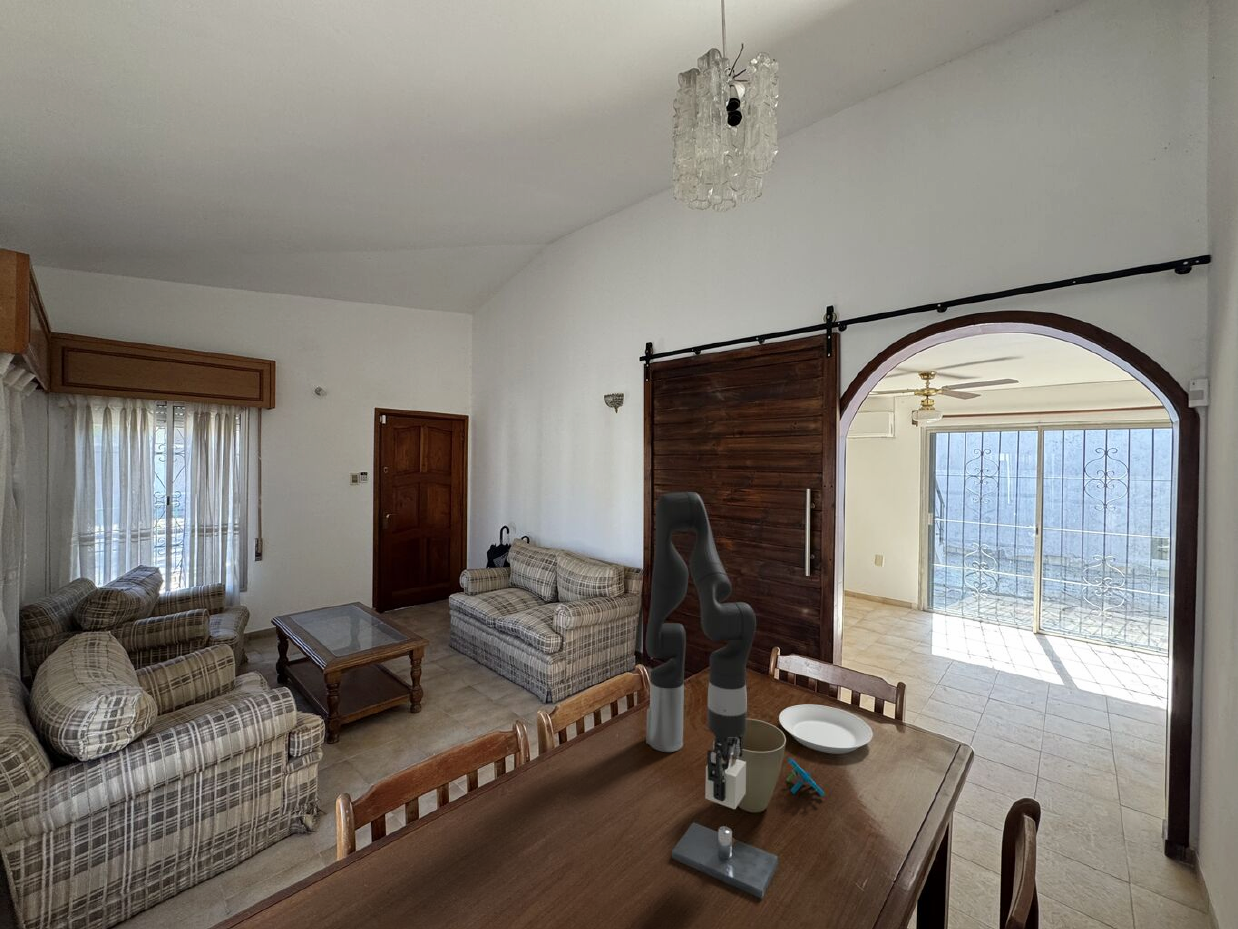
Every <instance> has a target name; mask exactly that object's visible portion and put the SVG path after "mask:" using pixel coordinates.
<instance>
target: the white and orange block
mask: <svg viewBox="0 0 1238 929" xmlns="http://www.w3.org/2000/svg"><path fill="white" fill-rule="evenodd" d="M726 762H727V761H724V760H722V763H724V764H726ZM722 773H723V768H722ZM745 793H746V762H745V761H742V760H738V759H737V760H736V759H734V758H733V756H732V760H731V766H730V769H728V770H727V773H726V791H725V800H724V801H720V800H717V799H715V798H714V797H713V781H710V780H708V764H706V766H705V796H704V797H705V800H707V801H708V800H709V801H711V802H713V803H717V804H720V805H721V806H724V807H727V808H730V809H733V810H736V809H737V807H739V806H738V804H739V803H740V801H741V800H742V798H743V796H744V795H745Z"/></svg>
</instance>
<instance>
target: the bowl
mask: <svg viewBox="0 0 1238 929" xmlns="http://www.w3.org/2000/svg"><path fill="white" fill-rule="evenodd" d="M778 721H779V724H780V725H781V726H782V727H783V728H784V729H785V731H787V732H788V733H789V734H790V736H791V737H793V739H794V740H796V741H797V742H798V743H800V744H801V745H802V746H804V747H807V748H809V749H811V750H815V751H817V752H821V753H827V754H847V753H852V752H854V751H855V750H857V749H859V748H861V747H862V746H864V745H866V744H868V743H869V742H870V741H871V740H872V739H873V733H874V732H873V730H872V728H871V726H869V724H867V723H866V722H865V721H864V720H863V719H861V718H859V717H858V716H856V715H854V714H852V713H851V712H848V711H845V710H842V709H840V708H835V707H831V706H827V705H821V704H809V703H807V704H797V705H796V704H795V705H791V706H788V707H785V709H783V710H782V711H780V713H779V715H778Z"/></svg>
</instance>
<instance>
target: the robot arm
mask: <svg viewBox="0 0 1238 929" xmlns="http://www.w3.org/2000/svg"><path fill="white" fill-rule="evenodd" d="M709 520H710V519H709V516H708V513H707V509H706V507H705V504H704V501H703V498H701V496H700V494H698V493H697V492H693V491H685V492H672V493H664V494H660V496H659V497H658V498H657V501H656V506H655V546H654V547H655V548H654V558H653V559H654V560H653V567H652V575H651V576H652V577H651V592H650V593H651V594H650V608H649V613H648V614H649V616H648V620H647V621H648V622H647V624H646V633H645V650H646V654H647V656H648V657H650V658H652V659H653V658H654V659H668V661H666V662H664V663H662V664H659V665H657V666H655V667H654V668H652V669H651V671H650V674H649V675H650V677H649V678H650V685H649V686H650V689H649V690H650V691H649V707H648V708H646V742H645V743H646V744H647V745H650V747H651V748H652V749H654V750H656V751H658V752H661V753H663V752H664V753H672V752H673V753H674V752H677V751H679V750H680V749H682V748H683V746H684V699H685V698H684V697H685V695H684V694H685V693H684V691H685V690H684V689H685V687H684V686H685V684H684V683H685V682H684V681H685V678H684V677H685V662H686V660H685V658H686V648H687V647H686V644H687V643H686V642H687V637H686V636H687V635H686V629H685V627H684V625H683V624H681V623H679V622H678V623H675V622H674V623H673V622H671V623H670V622H669V623H668V622H667V623H666V622H665V620H666V619H667V617H669V615H670V614H672V613H673V612H674V611H675V610H676V609H677V608H678V606H680V604H681V603H682V602H683V600H684V599H685V597H686V595H687V592H688V591H687V590H688V584H689V576H690V575H691V579H692V580H693V583H694V586H695V589H696V591H697V593H698V600H699V607H700V624H701V629H702V632H703V634H704V635H705V636H706V638H708V639H709V640H711V641H713V642H723V641H724V642H726V641H728V643H727V644H726V645H725V646H723V647H721V648H719V649H718V648H717V649H716V650H714V651H712V652H711V654H710V656H709V677H708V678H709V680H708V681H709V682H708V683H709V684H708V688H707V722H706V724H707V728H708V730H709V731H710V732H711V733H712V734H713V735H714V739H713V742H712V748H713V750H711V749H707V752H706V758H707V760H706V761H707V764H706V765H708V780H710V781H713V797H714V798H715V799H717V800H720V801H724V800H725V791H726V773H727V770H728V769H730V766H731V760H732V756H733V758H734V759H736V760H737V759H738V760H739V757H742V755H743V737H744V733H745V732H746V719H748V718H747V714H748V712H747V710H748V709H747V707H748V706H747V705H748V703H747V702H748V700H747V699H748V697H747V696H748V694H747V684H746V682H747V661H748V658H749V655H750V653H751V652H750V651H751V649H752V644H753V641H754V638H755V635H756V630H757V617H756V613H755V612H754V609H753V608H752V606H751V605H750V604H748V603H746V602H742V601H740V602H739V601H737V602H735V601H734V602H724V601H726V600H727V599H728V598H729V597H730V596H731V594H732V591H733V587H732V584H731V581H730V578H729V577H728V574H727V572H726V570H725V568H724V565H723V563H722V561H721V558H720V556H719V554H718V551H717V547H716V543H715V540H714V535H713V531H712V527H711V524H710V521H709ZM683 531H684V532H687V531H694V532H695V535H696V540H695V543H694V546H693V549H692V552H691V555H690V559H689V568H688V566H687V564H686V562H685V561H684V559H683V558H682V556H681V555H680V553H679V552H678V551H677V549H676V547H675V546H674V544H673V542H672V534H673V533H675V532H683ZM689 572H690V573H689ZM689 574H690V575H689ZM723 602H724V603H723ZM664 622H665V623H664ZM722 760H724V761H727V762H726V764H724V763H722ZM722 768H723V773H722Z"/></svg>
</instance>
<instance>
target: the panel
mask: <svg viewBox="0 0 1238 929" xmlns="http://www.w3.org/2000/svg"><path fill="white" fill-rule="evenodd" d="M671 859H673V860H675V861H677V862H679V863H682V864H683V865H686V866H688V867H690V868H692V869H695V870H697V871H698V872H699V871H700V872H701V873H703V874H706V875H708V876H711V877H713V878H714V879H717V880H719V881H722V882H724V883H725V884H727V885H731V886H732V887H735V888H737V889H739V890H740V891H741V890H742V891H744V892H746V893H748V894H750V895H752V896H754V897H756V898H759V899H761V900H763V898H764V897H765V894H766V891H767V890H768V889H767V888H768V887H769V885H770V883H771V880H772V878H773V876H774V874H775V872H776V869H777V866H778V864H779V860H778V859H779V856H777V855H775V854H773V853H770V852H768V851H766V850H763V849H760V848H758V847H755V846H753V845H751V844H748V843H746V842H744V841H740V840H738V839H736V838H734V837H733V830H732V829H731V828H730V827H728V826H724V825H723V826H719V828H718V831H716V830H713V829H711V828H709V827H706V826H704V825H701V824H698V823H697V822H694V821H693V822H692V823H691V824H690V826H689V827H688V828H687V830H686V831H685V833H684V834H683V835H682V837H681V838H680V840H679V841H678V842H677V843H676V845H675V846H674V848H673V849H672V850H671Z"/></svg>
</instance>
